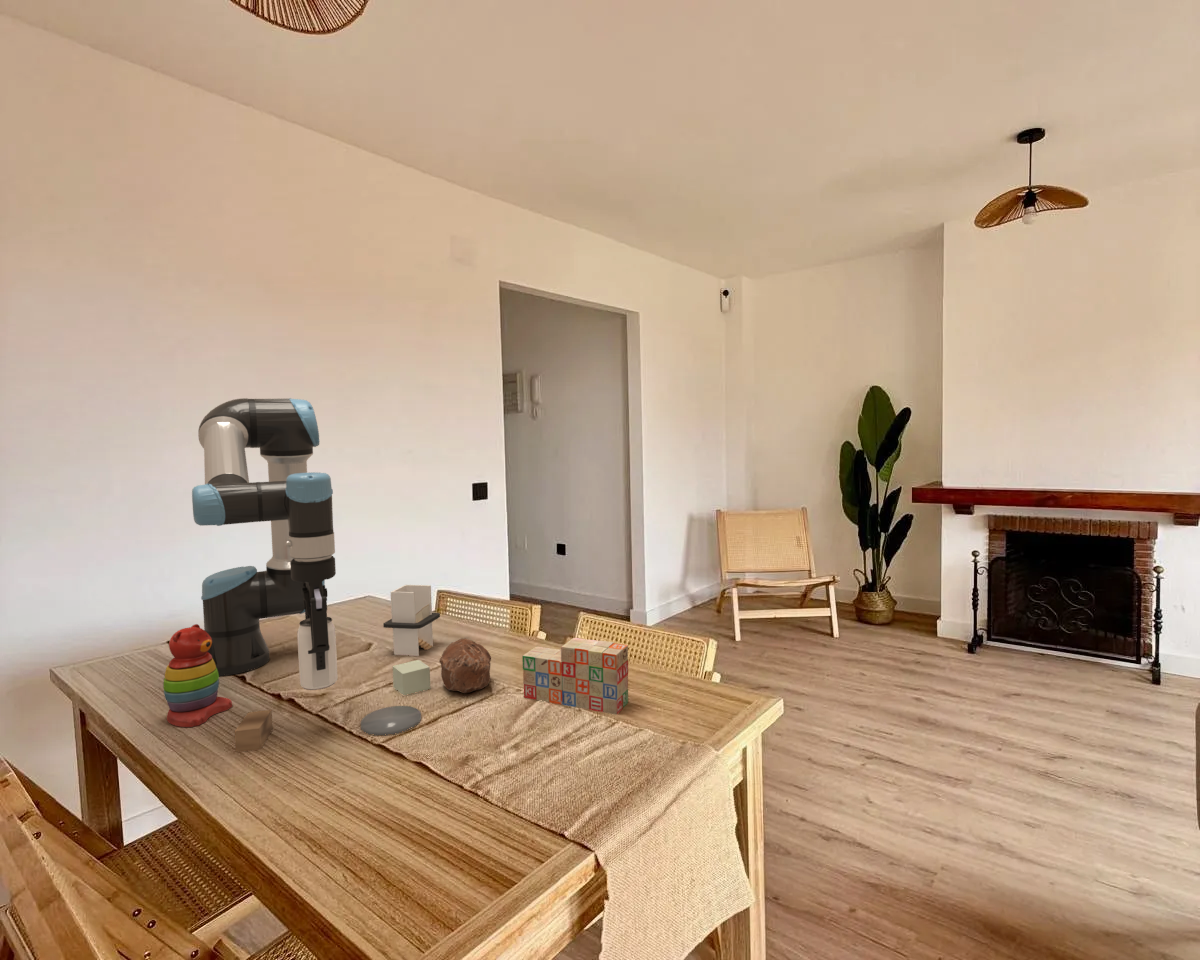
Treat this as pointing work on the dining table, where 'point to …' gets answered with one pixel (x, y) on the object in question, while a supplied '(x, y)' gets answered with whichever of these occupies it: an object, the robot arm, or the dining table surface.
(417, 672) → the sage block
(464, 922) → the dining table surface
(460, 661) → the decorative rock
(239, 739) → the walnut block
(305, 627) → the can
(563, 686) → the stack of blocks
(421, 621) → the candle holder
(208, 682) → the stacking bear
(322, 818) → the dining table surface
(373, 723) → the slate coaster
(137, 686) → the dining table surface
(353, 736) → the dining table surface
